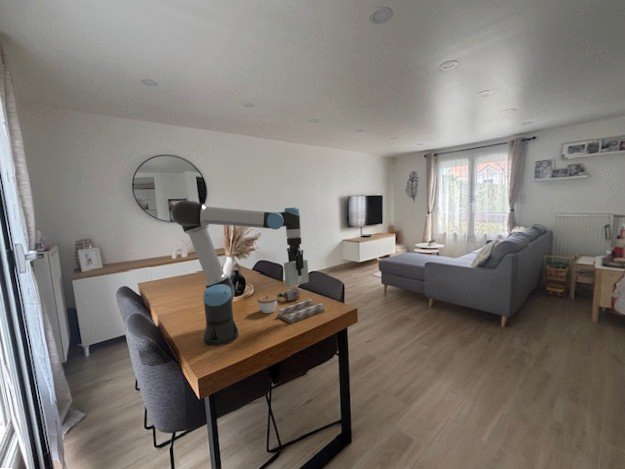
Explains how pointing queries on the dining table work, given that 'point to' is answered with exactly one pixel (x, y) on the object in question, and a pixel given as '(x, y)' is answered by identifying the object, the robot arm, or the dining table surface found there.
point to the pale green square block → (291, 273)
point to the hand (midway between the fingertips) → (297, 280)
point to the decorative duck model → (291, 294)
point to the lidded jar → (267, 303)
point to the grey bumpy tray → (300, 311)
